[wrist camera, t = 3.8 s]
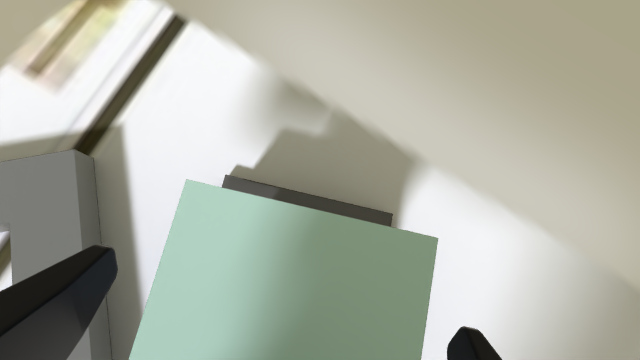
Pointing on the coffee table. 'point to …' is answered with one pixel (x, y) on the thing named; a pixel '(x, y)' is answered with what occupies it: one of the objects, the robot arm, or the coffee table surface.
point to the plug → (283, 284)
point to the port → (53, 225)
